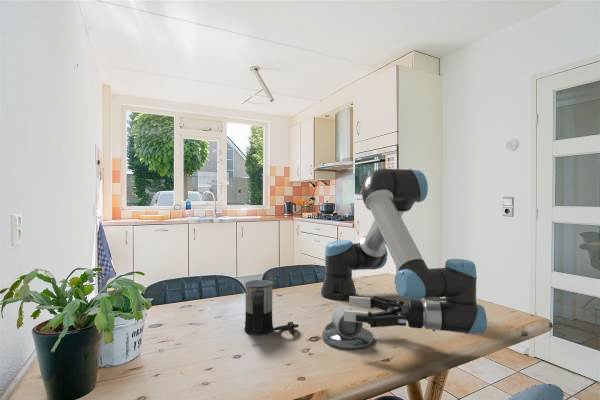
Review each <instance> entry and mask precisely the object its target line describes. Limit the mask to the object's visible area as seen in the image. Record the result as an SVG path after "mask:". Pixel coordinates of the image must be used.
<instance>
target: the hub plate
mask: <svg viewBox="0 0 600 400" xmlns="http://www.w3.org/2000/svg"><path fill="white" fill-rule="evenodd" d="M334 329H336V328H335V327H332V328H330V329H329V330H328V331H332V330H334ZM321 334H322V335H321V337H322V341H323V342H324V344H326V345H327V346H329V347H332V348H335V349H338V350H344V351H357V350H358V351H359V350H364V349H367V348H369V347H371V346H372V345H373V343H374V335H373V333H372V332H371V331H370V330H369V329H367V328H365V327H362V331H361V333H360V334H359V335H358V336H357V337H355V338H353V339H346V338H344V337H342V336H341V335H340V334H336V335H334V336H326V335H325V333H324V330H322V333H321Z"/></svg>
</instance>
